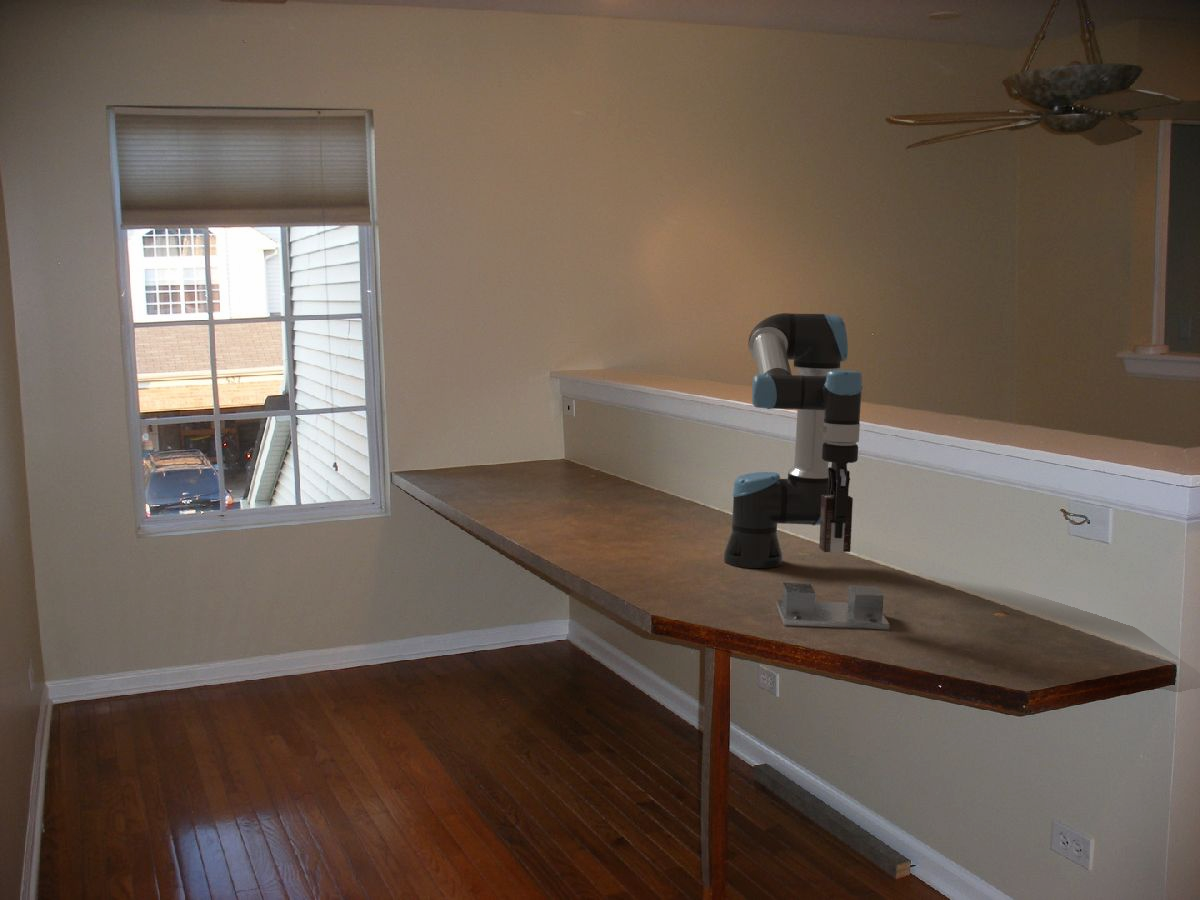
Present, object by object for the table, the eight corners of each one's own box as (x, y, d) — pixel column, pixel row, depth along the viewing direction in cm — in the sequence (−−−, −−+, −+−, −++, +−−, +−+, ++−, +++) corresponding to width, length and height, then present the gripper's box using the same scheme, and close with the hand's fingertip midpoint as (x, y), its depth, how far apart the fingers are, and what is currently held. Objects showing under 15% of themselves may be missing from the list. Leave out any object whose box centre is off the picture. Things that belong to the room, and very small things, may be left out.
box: (844, 547, 251) (847, 494, 249) (850, 553, 247) (854, 498, 245) (817, 547, 251) (820, 493, 249) (823, 552, 246) (826, 497, 244)
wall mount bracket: (776, 604, 259) (777, 578, 258) (874, 608, 258) (876, 581, 257) (784, 625, 243) (785, 596, 243) (889, 629, 242) (890, 600, 242)
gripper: (817, 437, 254) (811, 540, 258) (828, 447, 237) (823, 558, 240) (851, 438, 254) (845, 541, 257) (865, 448, 237) (859, 559, 240)
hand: (834, 549), depth 249 cm, fingers closed on box, 5 cm apart
